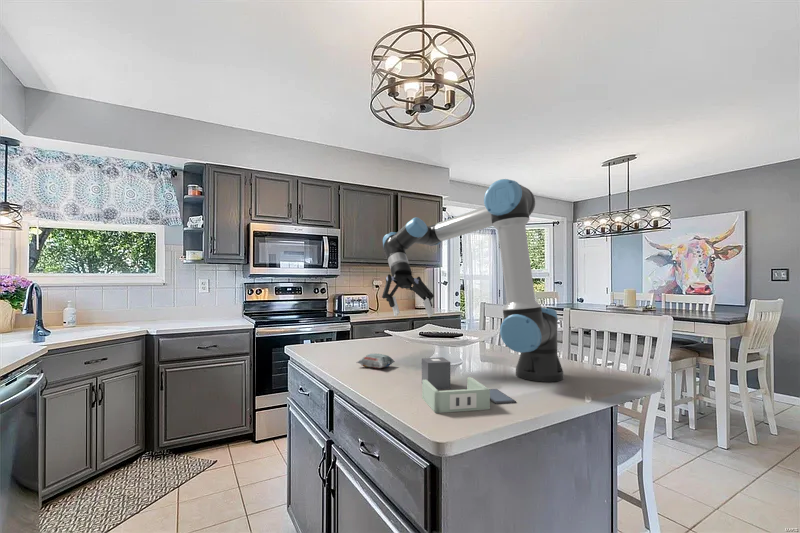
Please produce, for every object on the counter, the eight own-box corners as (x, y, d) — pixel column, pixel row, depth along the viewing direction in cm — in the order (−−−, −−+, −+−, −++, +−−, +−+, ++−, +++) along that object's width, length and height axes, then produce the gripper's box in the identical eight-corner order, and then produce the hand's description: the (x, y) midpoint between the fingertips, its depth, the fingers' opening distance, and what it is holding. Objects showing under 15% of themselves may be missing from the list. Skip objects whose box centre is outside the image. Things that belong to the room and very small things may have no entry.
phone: (496, 392, 115) (496, 388, 115) (516, 404, 104) (516, 400, 104) (477, 393, 114) (477, 389, 114) (495, 406, 102) (495, 402, 102)
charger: (443, 382, 123) (443, 357, 124) (450, 388, 117) (450, 361, 117) (421, 383, 122) (421, 357, 122) (427, 390, 115) (427, 362, 115)
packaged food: (382, 372, 137) (382, 357, 138) (355, 367, 144) (355, 354, 144) (395, 367, 145) (395, 354, 145) (369, 363, 151) (369, 351, 151)
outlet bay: (471, 394, 110) (471, 377, 110) (490, 409, 98) (490, 389, 98) (422, 398, 107) (422, 379, 107) (435, 413, 95) (435, 392, 95)
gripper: (423, 275, 156) (439, 320, 144) (366, 271, 144) (377, 320, 132) (432, 263, 151) (449, 309, 139) (373, 258, 139) (386, 307, 127)
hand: (414, 314), depth 135 cm, fingers open, 13 cm apart
